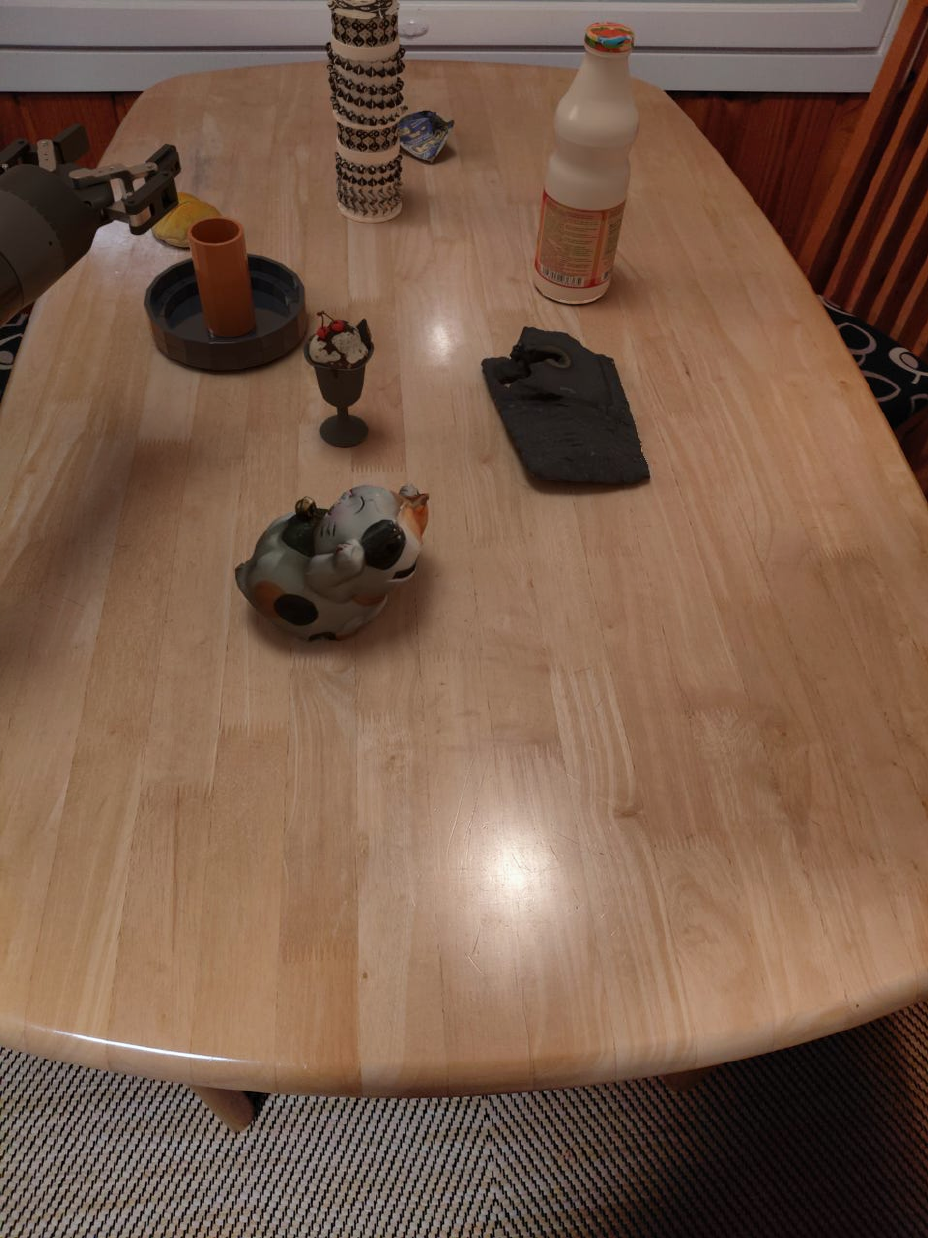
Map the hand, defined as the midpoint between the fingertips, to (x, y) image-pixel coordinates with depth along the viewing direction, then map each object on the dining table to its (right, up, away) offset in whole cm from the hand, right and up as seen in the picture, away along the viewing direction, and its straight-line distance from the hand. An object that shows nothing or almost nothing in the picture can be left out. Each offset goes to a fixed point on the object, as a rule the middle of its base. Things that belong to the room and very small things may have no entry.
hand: (128, 145), depth 79 cm
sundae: (+16, -21, +17) cm, 31 cm away
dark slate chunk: (+39, -19, +20) cm, 48 cm away
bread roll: (-6, +8, +38) cm, 40 cm away
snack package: (+21, +28, +55) cm, 66 cm away
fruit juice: (+42, +1, +35) cm, 54 cm away
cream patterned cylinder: (+16, +14, +44) cm, 49 cm away
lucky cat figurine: (+17, -37, +4) cm, 41 cm away
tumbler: (+2, -7, +26) cm, 27 cm away
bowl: (+2, -7, +26) cm, 27 cm away
